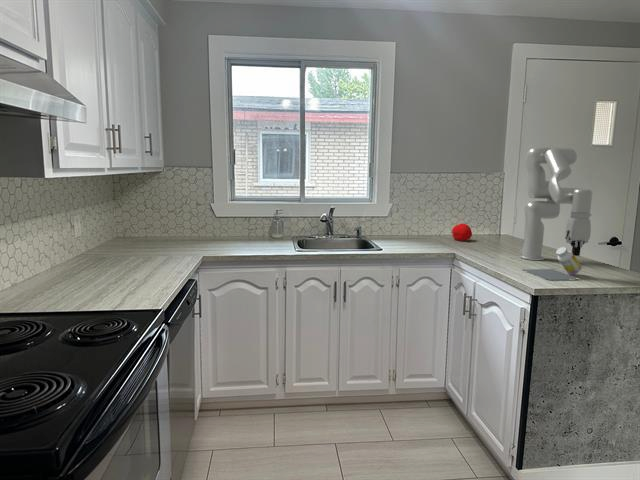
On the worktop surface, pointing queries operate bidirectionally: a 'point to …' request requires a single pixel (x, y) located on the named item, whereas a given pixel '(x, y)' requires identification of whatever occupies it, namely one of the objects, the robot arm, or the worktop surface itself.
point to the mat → (550, 274)
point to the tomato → (461, 232)
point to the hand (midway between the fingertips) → (575, 255)
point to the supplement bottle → (568, 260)
